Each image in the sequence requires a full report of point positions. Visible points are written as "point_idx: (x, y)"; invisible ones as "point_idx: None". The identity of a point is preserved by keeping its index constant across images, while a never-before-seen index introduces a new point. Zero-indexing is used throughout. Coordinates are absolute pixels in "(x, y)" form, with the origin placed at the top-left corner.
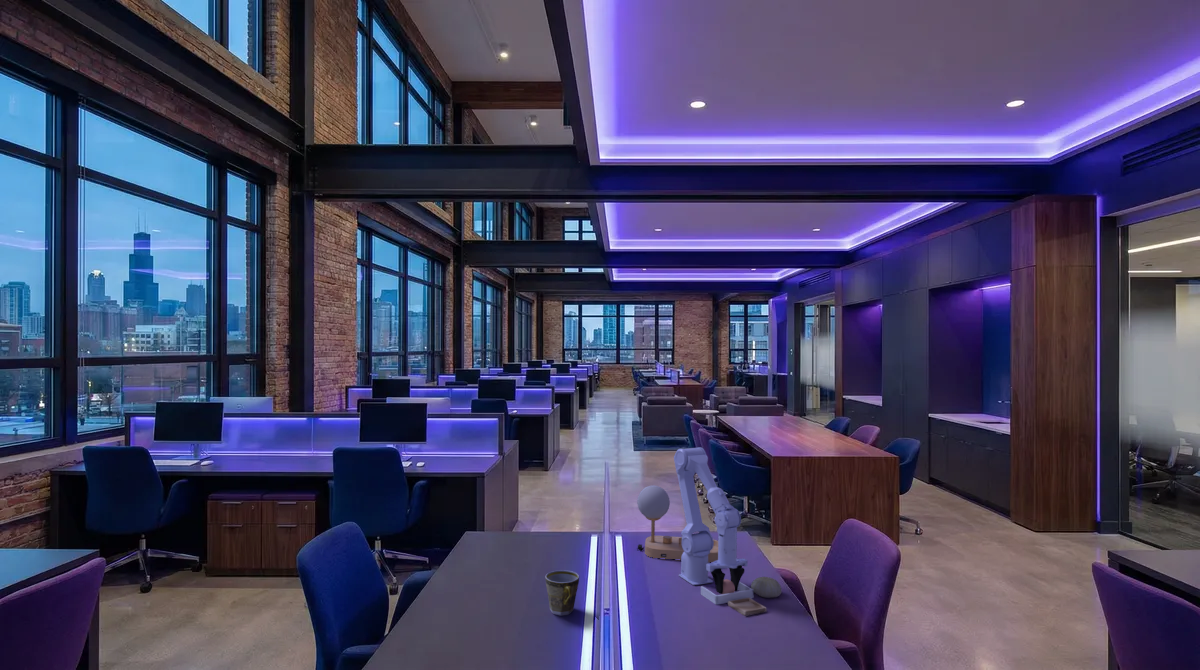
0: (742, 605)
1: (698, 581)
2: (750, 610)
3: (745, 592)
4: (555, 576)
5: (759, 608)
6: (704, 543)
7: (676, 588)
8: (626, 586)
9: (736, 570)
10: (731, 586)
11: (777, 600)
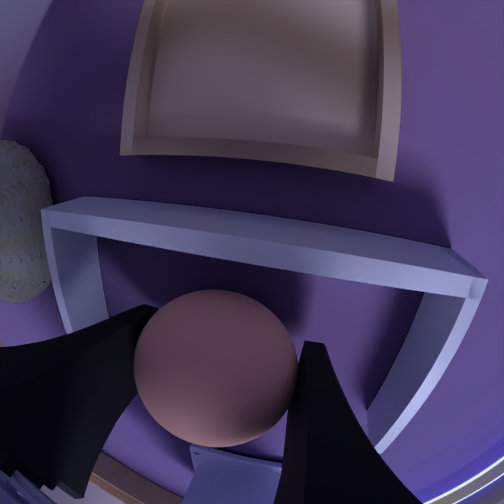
0: (272, 78)
1: (271, 474)
2: None
3: (103, 213)
4: None
5: None
6: None
7: (394, 467)
8: (471, 478)
9: (16, 438)
10: (194, 337)
11: (26, 118)
